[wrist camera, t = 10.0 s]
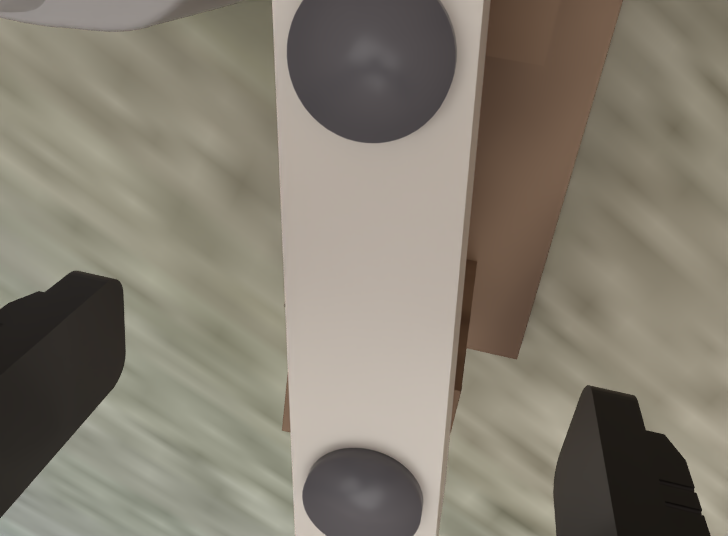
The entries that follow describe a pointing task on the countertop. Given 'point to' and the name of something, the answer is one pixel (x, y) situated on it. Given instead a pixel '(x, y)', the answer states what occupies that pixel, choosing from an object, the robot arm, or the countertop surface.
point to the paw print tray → (105, 12)
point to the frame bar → (374, 249)
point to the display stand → (524, 159)
